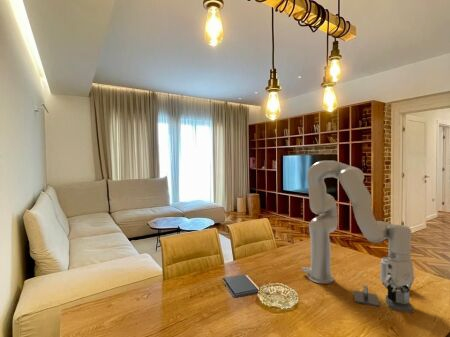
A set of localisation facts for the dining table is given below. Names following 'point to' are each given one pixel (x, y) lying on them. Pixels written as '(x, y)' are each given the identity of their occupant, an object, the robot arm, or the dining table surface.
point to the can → (383, 268)
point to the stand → (366, 297)
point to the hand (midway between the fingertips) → (398, 298)
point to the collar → (402, 295)
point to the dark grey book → (240, 286)
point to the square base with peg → (399, 305)
